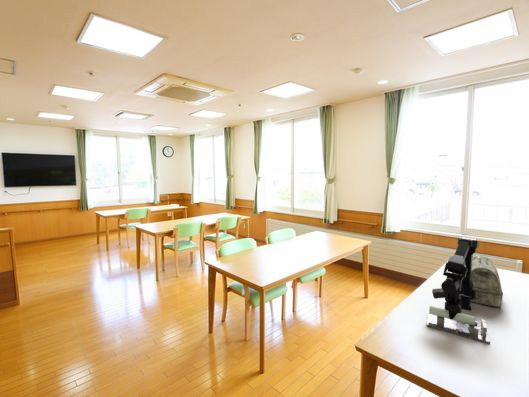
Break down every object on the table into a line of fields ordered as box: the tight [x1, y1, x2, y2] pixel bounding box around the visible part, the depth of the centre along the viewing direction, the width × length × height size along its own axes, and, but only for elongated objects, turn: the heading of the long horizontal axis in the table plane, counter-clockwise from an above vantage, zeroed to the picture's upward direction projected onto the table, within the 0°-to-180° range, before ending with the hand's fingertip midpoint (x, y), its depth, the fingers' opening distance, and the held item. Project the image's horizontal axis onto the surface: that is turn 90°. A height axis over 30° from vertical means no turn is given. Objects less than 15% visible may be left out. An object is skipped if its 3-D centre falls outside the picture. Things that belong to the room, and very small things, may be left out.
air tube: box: [428, 305, 476, 325], centre depth 132 cm, size 4×18×4 cm, turn 56°
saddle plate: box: [426, 312, 491, 345], centre depth 131 cm, size 12×24×6 cm, turn 56°
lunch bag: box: [470, 255, 504, 308], centre depth 161 cm, size 26×18×22 cm
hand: (450, 317), depth 132 cm, fingers closed on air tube, 4 cm apart
